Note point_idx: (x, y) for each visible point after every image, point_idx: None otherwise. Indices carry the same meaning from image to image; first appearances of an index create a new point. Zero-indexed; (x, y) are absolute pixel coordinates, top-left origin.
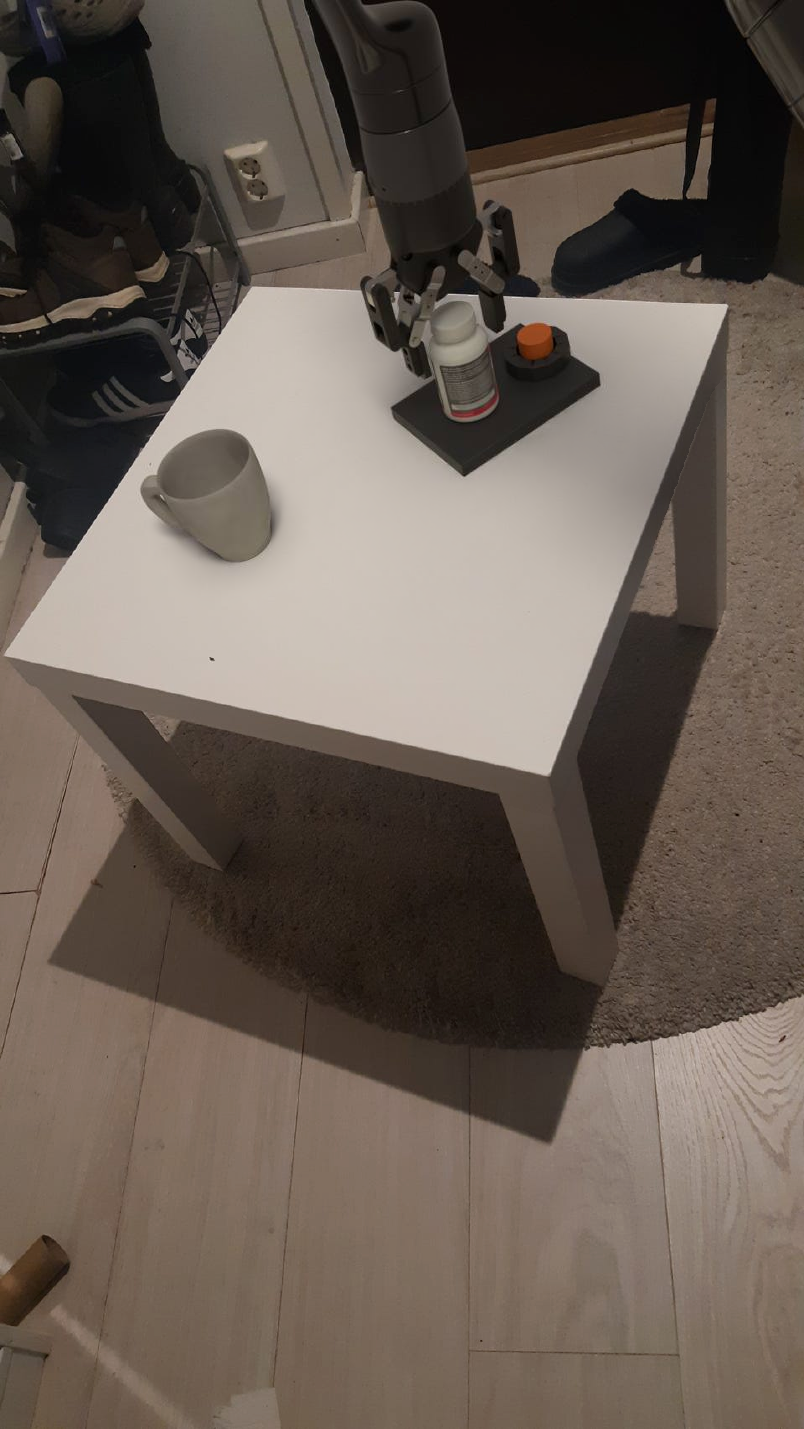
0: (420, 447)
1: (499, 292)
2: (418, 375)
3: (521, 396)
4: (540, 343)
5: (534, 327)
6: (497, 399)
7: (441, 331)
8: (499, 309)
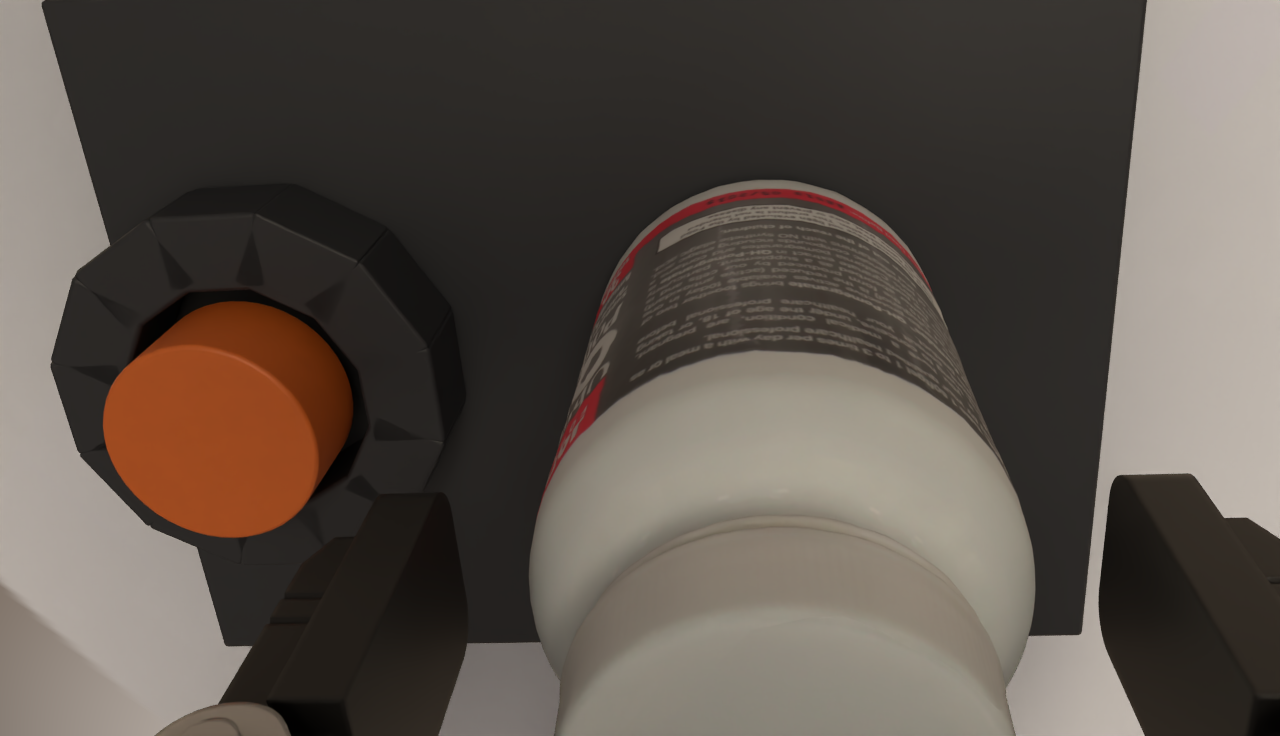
0: (1116, 320)
1: (243, 709)
2: (1245, 527)
3: (508, 180)
4: (217, 347)
5: (182, 489)
6: (648, 229)
7: (997, 697)
8: (334, 602)
